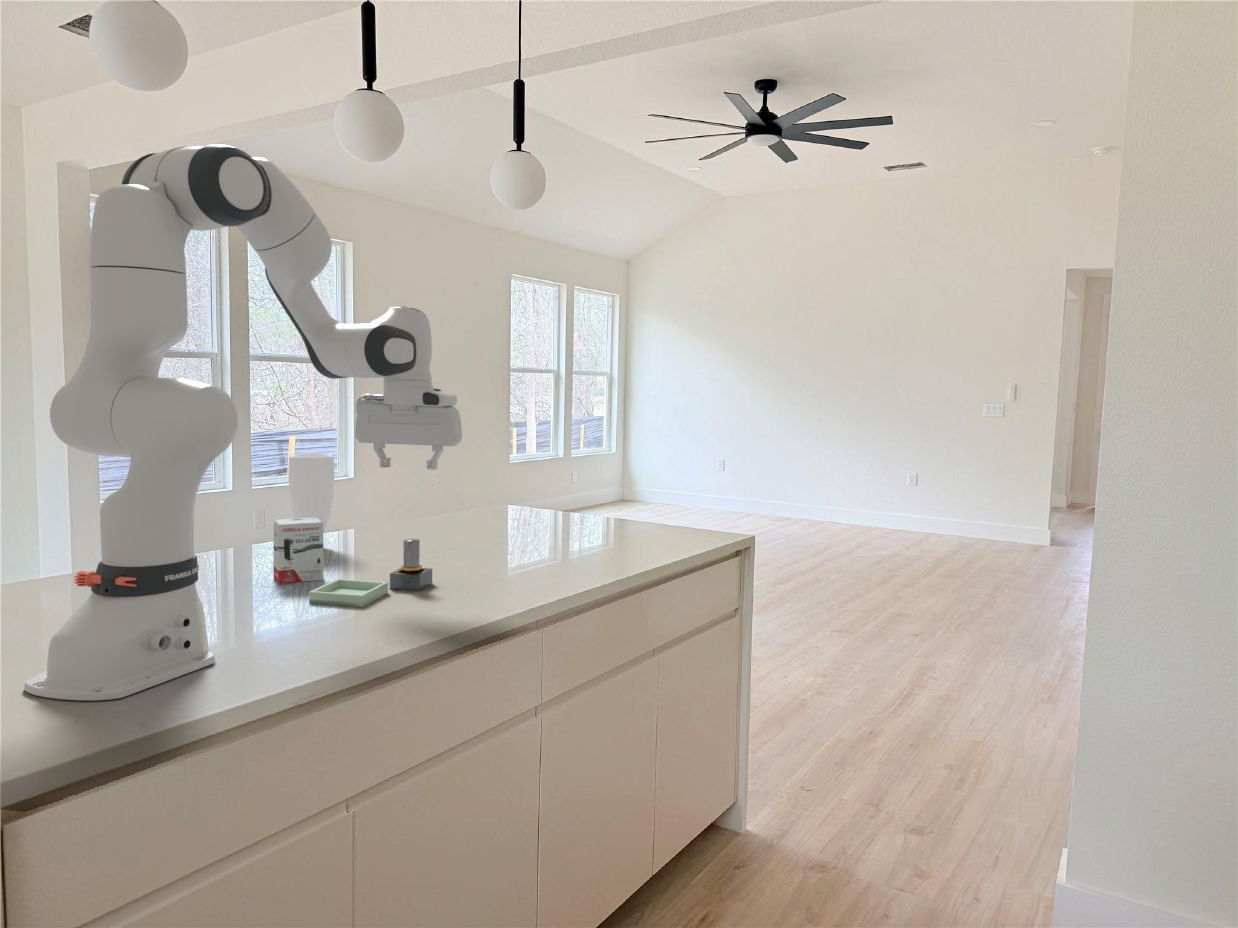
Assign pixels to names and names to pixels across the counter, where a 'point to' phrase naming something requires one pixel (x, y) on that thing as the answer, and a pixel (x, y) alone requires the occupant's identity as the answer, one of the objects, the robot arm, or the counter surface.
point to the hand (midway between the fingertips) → (408, 468)
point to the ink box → (298, 550)
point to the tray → (348, 592)
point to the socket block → (411, 580)
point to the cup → (311, 485)
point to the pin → (411, 556)
